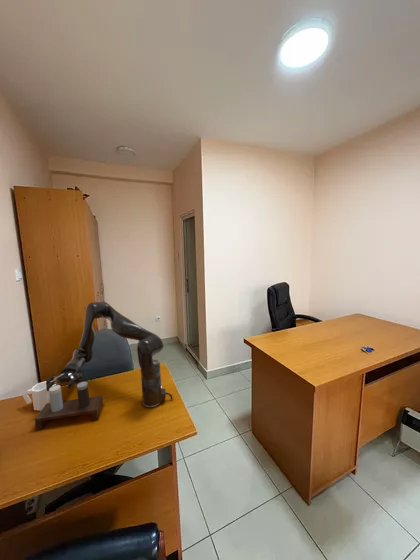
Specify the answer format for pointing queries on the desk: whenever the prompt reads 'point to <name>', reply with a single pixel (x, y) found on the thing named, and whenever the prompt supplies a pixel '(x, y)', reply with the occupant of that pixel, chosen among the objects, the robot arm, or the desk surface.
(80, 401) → the dark shaker
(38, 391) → the mug
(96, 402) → the desk shelf
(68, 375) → the robot arm
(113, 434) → the desk surface
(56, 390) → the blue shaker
